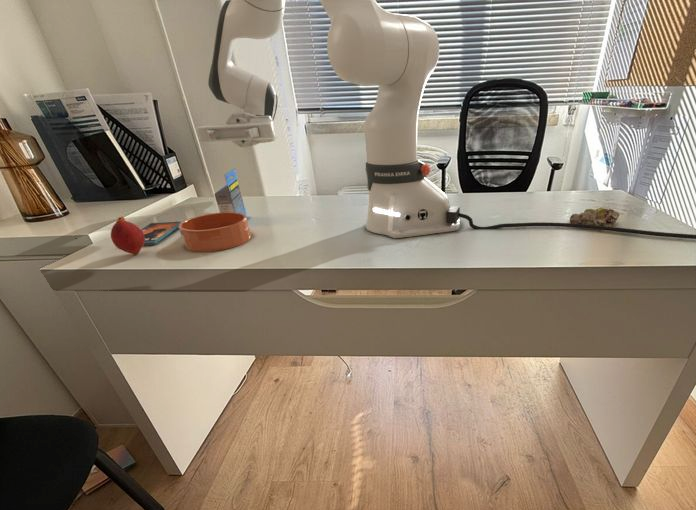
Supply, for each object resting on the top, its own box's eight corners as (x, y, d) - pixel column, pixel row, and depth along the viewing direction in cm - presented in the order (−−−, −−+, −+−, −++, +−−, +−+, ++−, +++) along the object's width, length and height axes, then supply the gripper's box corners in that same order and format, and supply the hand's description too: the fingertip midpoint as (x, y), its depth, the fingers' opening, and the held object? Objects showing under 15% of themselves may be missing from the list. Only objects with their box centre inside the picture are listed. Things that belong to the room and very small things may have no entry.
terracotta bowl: (257, 229, 95) (252, 210, 92) (242, 249, 83) (236, 228, 81) (199, 232, 95) (192, 214, 92) (175, 253, 83) (167, 232, 80)
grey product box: (233, 218, 104) (219, 168, 97) (248, 217, 104) (235, 167, 97) (223, 228, 97) (207, 175, 90) (239, 227, 97) (224, 174, 90)
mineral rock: (608, 206, 91) (627, 205, 84) (606, 225, 93) (625, 226, 85) (562, 210, 91) (577, 209, 84) (561, 229, 93) (576, 230, 85)
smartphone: (118, 243, 87) (150, 222, 100) (121, 249, 88) (152, 228, 100) (153, 240, 87) (181, 219, 99) (156, 246, 88) (183, 225, 100)
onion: (136, 259, 81) (119, 221, 76) (113, 258, 82) (95, 220, 77) (156, 250, 85) (141, 213, 81) (134, 249, 86) (118, 212, 82)
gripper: (203, 119, 109) (183, 122, 97) (276, 115, 109) (265, 118, 98) (210, 144, 112) (192, 150, 101) (281, 140, 113) (271, 146, 102)
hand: (229, 134), depth 100 cm, fingers open, 8 cm apart
